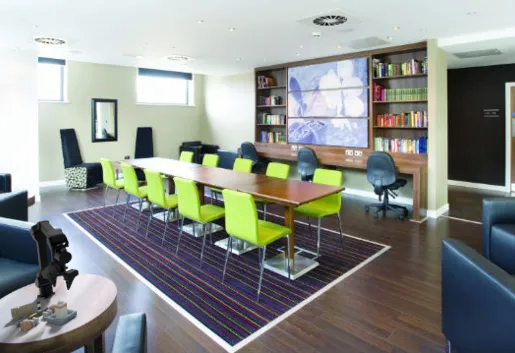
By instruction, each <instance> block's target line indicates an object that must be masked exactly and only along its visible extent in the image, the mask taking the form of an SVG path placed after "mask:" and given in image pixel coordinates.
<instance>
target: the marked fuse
mask: <svg viewBox="0 0 515 353" xmlns="http://www.w3.org/2000/svg"><path fill="white" fill-rule="evenodd" d="M54 304H55V313H56V319H60V320H61V319H63V318H64V317H66V316H68V311H67V309H68V303H67V301H64V300H61V299H60V300H58V301H57V302H55V303H54Z"/></svg>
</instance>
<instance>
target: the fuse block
mask: <svg viewBox="0 0 515 353" xmlns="http://www.w3.org/2000/svg"><path fill="white" fill-rule="evenodd" d="M49 307H50V306H49ZM49 307H48V306H45V308H42V309H41V311H39V312H38V311H37V312H35V313H34V312H33V315H31V316H27V317H25V319H28V320H31V325H32V327H35V326H36V325H38V324H40V320H39V316H42V318H45V319H47V317H49V316H50V315H52V314H53V312H52V310H49ZM25 319H24V318H23V320H25ZM23 320H21V321H19V322H17V323H16V327H17V328H21V325H20V322H22V321H23ZM35 323H36V324H35Z"/></svg>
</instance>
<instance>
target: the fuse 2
mask: <svg viewBox="0 0 515 353" xmlns="http://www.w3.org/2000/svg"><path fill="white" fill-rule="evenodd" d="M55 304H56V303H53V304H51V305H49V310H52V312H53V314H54V313H55Z"/></svg>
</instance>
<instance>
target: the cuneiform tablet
mask: <svg viewBox="0 0 515 353" xmlns="http://www.w3.org/2000/svg"><path fill="white" fill-rule="evenodd" d="M36 306H37V312H39V311H41V310H42V305H41V300H38V301H36ZM10 314H11V319H12V321H13V322H14V321H18V320H20V319H24V318H28V317H29V316H31V315H33V314H34V307H33V303H32V302H30V303H26V304H23V305H19V306H16V307H13V308H11V309H10Z"/></svg>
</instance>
